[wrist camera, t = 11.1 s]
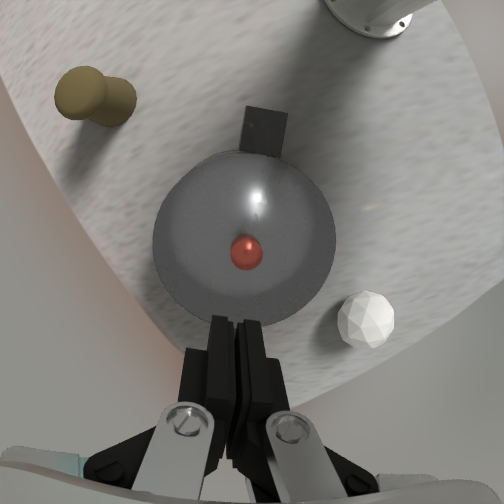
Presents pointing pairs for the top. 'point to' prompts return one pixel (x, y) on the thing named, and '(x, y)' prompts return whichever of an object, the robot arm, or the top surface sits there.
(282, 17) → the top surface
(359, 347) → the geometric ball
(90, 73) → the cork
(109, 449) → the robot arm
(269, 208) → the lid
